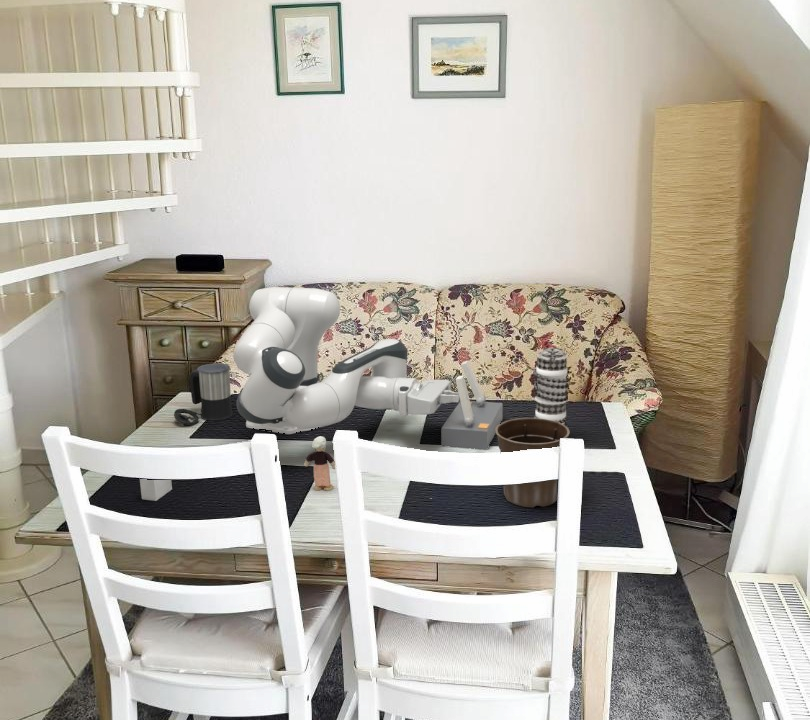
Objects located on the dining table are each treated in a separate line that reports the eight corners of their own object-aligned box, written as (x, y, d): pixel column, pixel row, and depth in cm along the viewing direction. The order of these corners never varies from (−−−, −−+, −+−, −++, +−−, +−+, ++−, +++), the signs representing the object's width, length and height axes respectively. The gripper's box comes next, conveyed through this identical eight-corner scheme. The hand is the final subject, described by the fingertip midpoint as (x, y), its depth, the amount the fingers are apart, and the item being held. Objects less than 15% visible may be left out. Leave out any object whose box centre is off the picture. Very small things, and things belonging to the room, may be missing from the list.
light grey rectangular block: (172, 489, 206) (168, 449, 203) (155, 501, 199) (151, 459, 197) (158, 487, 207) (154, 447, 204) (141, 499, 200) (137, 458, 198)
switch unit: (441, 446, 229) (441, 427, 228) (460, 416, 251) (460, 399, 250) (486, 449, 226) (486, 430, 224) (502, 419, 248) (502, 402, 247)
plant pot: (552, 518, 187) (554, 447, 182) (483, 504, 194) (483, 435, 190) (577, 490, 200) (579, 424, 196) (511, 478, 208) (512, 413, 204)
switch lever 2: (465, 426, 227) (454, 380, 225) (468, 421, 231) (457, 375, 229) (472, 425, 227) (461, 379, 224) (475, 420, 230) (464, 374, 228)
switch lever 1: (477, 406, 243) (459, 365, 242) (480, 402, 247) (462, 362, 245) (484, 404, 242) (466, 363, 241) (487, 400, 246) (469, 359, 245)
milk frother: (238, 412, 260) (235, 363, 256) (214, 430, 245) (210, 379, 241) (195, 409, 263) (191, 361, 259) (168, 426, 248) (164, 376, 244)
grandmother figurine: (338, 484, 206) (336, 433, 203) (337, 491, 203) (334, 439, 199) (306, 484, 206) (303, 434, 203) (303, 491, 203) (301, 439, 199)
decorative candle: (532, 435, 236) (534, 345, 229) (567, 436, 234) (570, 345, 228) (531, 447, 227) (533, 354, 220) (567, 448, 226) (570, 355, 219)
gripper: (419, 394, 241) (468, 397, 238) (398, 417, 222) (451, 421, 219) (418, 372, 240) (468, 375, 236) (397, 393, 221) (451, 396, 217)
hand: (460, 397), depth 227 cm, fingers closed, pressing on switch lever 2
